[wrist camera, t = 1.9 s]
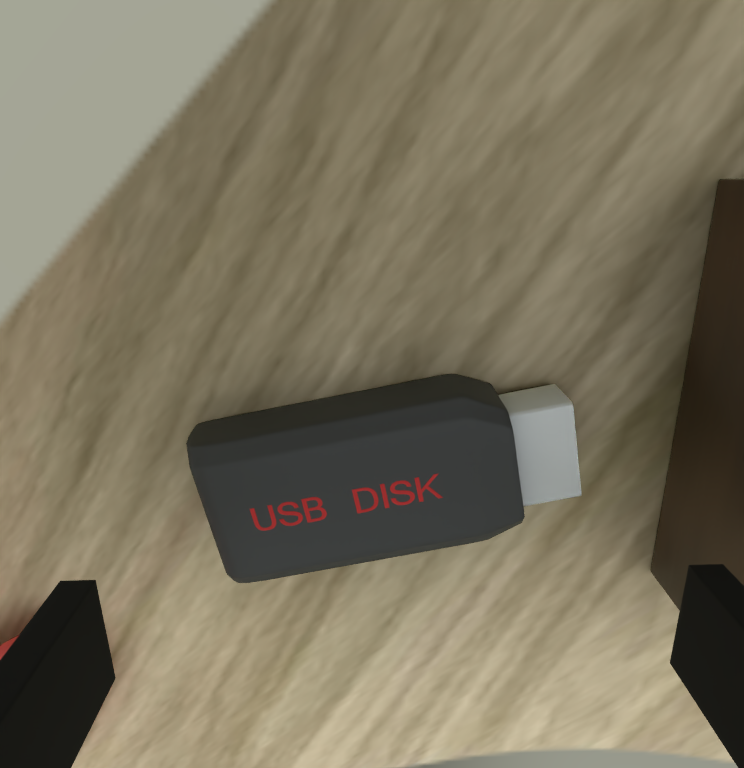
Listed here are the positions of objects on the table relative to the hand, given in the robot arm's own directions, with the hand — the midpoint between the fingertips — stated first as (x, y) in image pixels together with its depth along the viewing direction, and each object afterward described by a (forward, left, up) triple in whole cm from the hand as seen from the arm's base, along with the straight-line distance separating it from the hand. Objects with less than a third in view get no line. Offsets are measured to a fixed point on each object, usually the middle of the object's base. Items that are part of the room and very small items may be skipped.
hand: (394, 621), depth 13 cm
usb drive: (0, 0, -8) cm, 8 cm away
